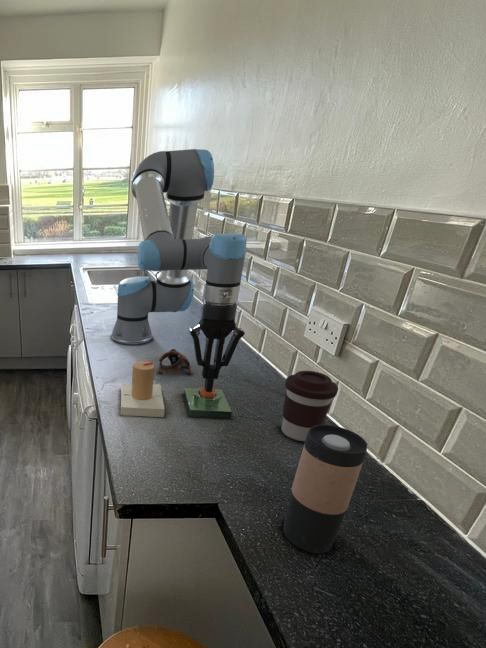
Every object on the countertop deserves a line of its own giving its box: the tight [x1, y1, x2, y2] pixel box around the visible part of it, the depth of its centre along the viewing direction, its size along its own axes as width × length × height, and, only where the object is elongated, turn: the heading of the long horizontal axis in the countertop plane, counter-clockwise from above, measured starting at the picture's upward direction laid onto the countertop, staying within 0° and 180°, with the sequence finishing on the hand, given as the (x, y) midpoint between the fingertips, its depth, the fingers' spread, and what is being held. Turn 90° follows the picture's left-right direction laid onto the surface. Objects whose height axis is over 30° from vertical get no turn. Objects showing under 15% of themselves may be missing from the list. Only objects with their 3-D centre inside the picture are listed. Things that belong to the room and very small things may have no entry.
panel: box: [120, 382, 166, 418], centre depth 110 cm, size 14×11×3 cm
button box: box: [183, 386, 232, 420], centre depth 107 cm, size 12×10×4 cm
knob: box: [131, 360, 155, 400], centre depth 108 cm, size 6×6×9 cm
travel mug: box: [282, 424, 368, 554], centre depth 64 cm, size 8×8×20 cm
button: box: [199, 386, 217, 397], centre depth 106 cm, size 4×4×2 cm
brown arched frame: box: [158, 348, 192, 376], centre depth 127 cm, size 12×10×8 cm
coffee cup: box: [280, 370, 339, 442], centre depth 92 cm, size 10×10×15 cm
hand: (208, 389), depth 105 cm, fingers closed
